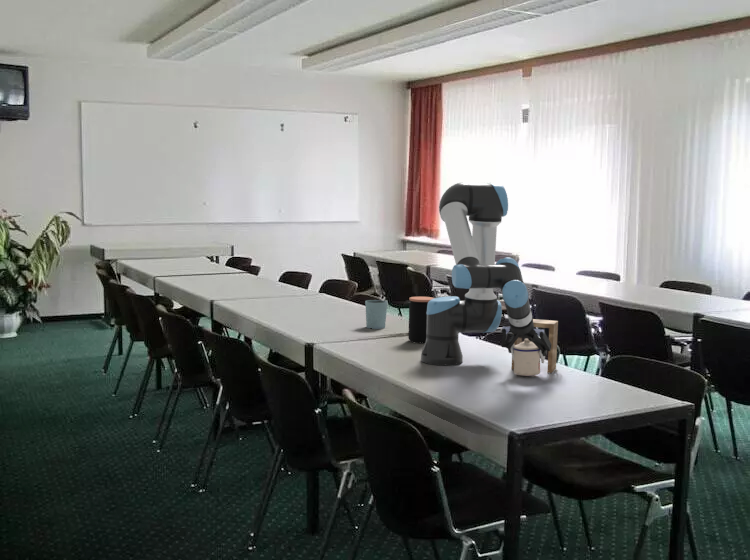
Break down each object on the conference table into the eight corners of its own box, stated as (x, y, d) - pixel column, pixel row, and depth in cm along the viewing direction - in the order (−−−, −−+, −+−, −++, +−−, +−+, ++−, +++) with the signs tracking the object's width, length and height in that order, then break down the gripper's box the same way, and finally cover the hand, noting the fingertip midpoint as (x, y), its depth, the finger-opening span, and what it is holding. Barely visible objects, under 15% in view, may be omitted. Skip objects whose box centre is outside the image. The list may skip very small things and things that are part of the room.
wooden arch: (511, 369, 278) (513, 320, 276) (516, 364, 285) (518, 317, 284) (551, 373, 273) (553, 324, 271) (556, 368, 280) (558, 320, 278)
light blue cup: (362, 328, 356) (363, 302, 355) (366, 325, 366) (367, 299, 365) (385, 329, 355) (385, 303, 353) (388, 326, 365) (389, 300, 363)
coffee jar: (438, 340, 329) (439, 297, 328) (426, 344, 320) (427, 300, 319) (416, 338, 335) (417, 295, 333) (403, 341, 326) (404, 298, 324)
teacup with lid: (545, 375, 264) (545, 340, 263) (520, 376, 262) (519, 342, 261) (530, 368, 275) (530, 334, 274) (505, 369, 273) (505, 336, 272)
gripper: (484, 325, 256) (495, 364, 272) (552, 330, 248) (559, 371, 264) (489, 307, 260) (499, 346, 277) (556, 311, 252) (563, 352, 268)
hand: (529, 358), depth 270 cm, fingers closed on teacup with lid, 9 cm apart
